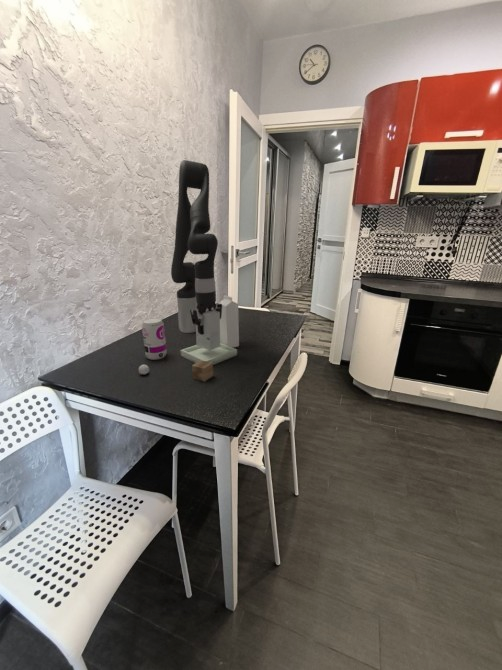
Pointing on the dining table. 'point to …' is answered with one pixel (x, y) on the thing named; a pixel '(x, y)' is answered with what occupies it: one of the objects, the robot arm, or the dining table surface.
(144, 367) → the white egg
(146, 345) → the supplement can
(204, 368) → the walnut block
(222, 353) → the tray
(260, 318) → the dining table surface
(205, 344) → the skincare box
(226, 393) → the dining table surface
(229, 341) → the milk
